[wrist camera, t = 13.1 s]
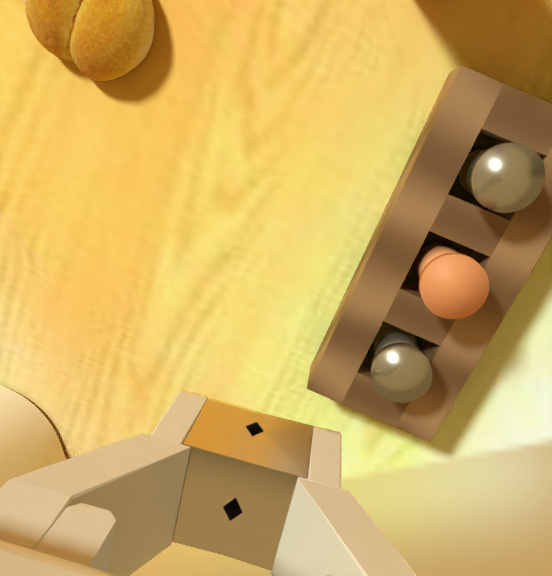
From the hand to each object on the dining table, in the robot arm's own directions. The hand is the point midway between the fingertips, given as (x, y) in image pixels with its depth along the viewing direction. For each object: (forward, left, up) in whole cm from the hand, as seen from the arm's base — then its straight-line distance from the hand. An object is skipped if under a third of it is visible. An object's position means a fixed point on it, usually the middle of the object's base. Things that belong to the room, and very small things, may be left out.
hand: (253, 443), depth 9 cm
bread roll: (+7, +21, -31) cm, 38 cm away
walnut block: (0, -9, -31) cm, 32 cm away
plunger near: (+7, -9, -30) cm, 32 cm away
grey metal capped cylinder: (-7, -9, -30) cm, 32 cm away
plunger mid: (0, -9, -29) cm, 31 cm away
